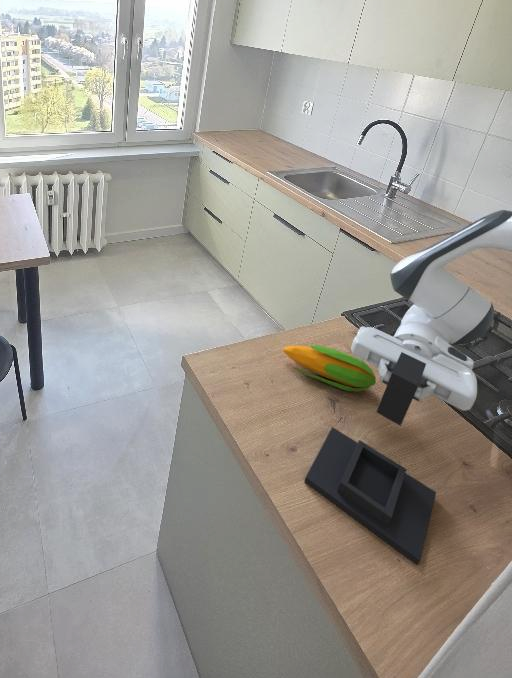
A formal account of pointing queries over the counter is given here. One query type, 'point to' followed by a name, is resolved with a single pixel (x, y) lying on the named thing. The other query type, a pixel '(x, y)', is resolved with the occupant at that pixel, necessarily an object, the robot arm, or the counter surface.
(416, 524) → the base pad
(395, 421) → the upright pad
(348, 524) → the counter surface
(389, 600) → the counter surface
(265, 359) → the counter surface
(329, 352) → the corn
